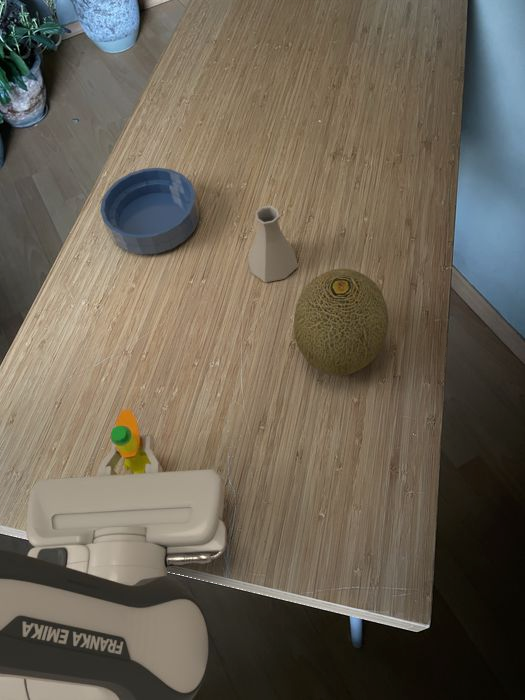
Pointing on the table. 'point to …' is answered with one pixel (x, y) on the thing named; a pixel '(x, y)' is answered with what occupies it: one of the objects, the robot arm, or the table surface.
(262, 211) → the flask
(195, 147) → the table surface
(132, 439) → the toy figure
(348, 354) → the fruit
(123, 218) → the bowl
